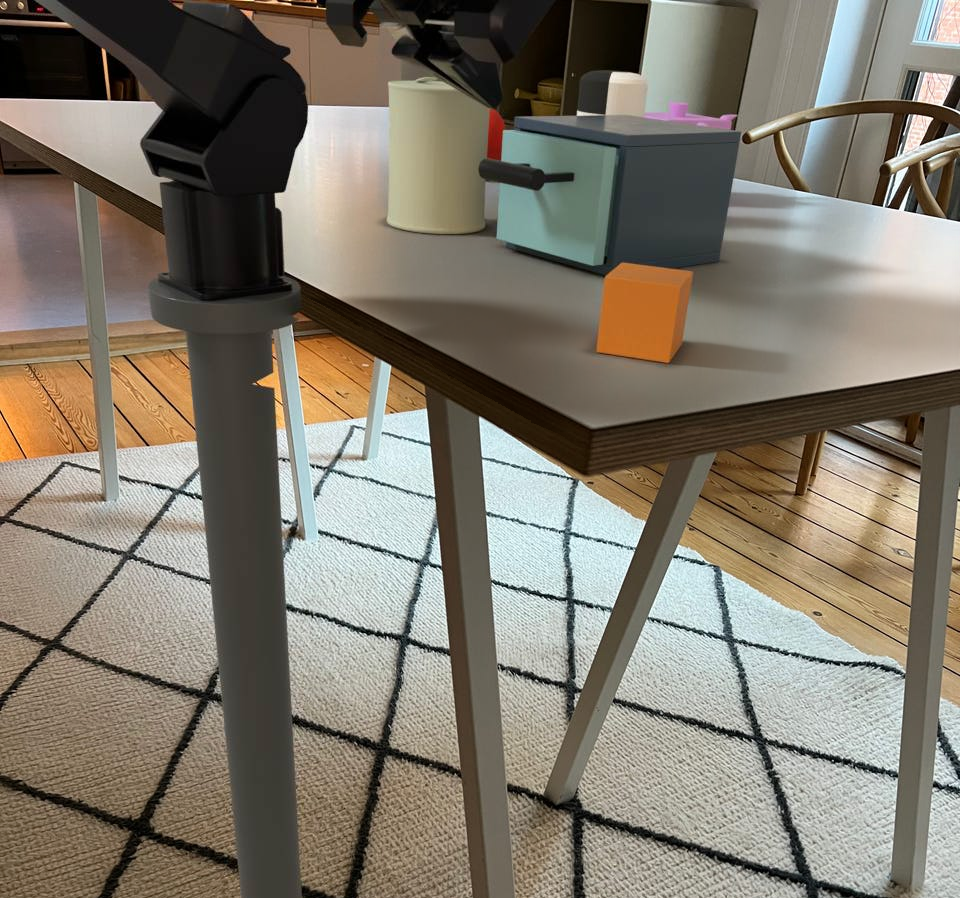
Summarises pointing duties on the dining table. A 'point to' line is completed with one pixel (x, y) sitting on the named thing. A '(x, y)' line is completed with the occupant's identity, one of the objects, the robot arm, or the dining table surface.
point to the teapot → (691, 117)
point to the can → (435, 158)
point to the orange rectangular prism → (644, 312)
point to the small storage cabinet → (656, 187)
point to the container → (612, 93)
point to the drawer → (555, 194)
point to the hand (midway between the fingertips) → (496, 103)
